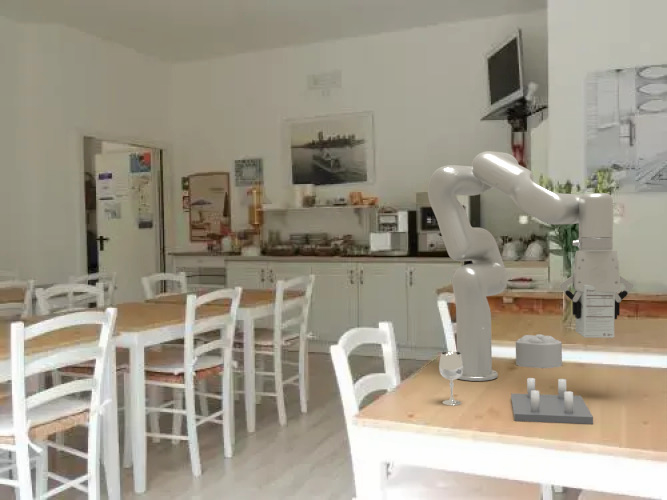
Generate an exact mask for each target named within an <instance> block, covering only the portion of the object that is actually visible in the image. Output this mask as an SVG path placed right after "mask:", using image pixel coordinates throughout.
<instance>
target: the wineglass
mask: <svg viewBox="0 0 667 500" xmlns="http://www.w3.org/2000/svg"><path fill="white" fill-rule="evenodd" d="M463 369H464V366H463V359H462V355H461V353H460V352H457V351H450V350H449V351H442V352H440V357H439V363H438V370H439V373H440V375H441V377H443V378H444V379H446V380H449V388H450V398H449V399H446V400H443V401H442V404H443V405H446V406H460V405H461V404H462V402H461V401H460V400H456V399H455V398H454V394H453V393H454V392H453V391H454V384H455V382H454V380H457V378H459V377H461V375H462V374H463Z"/></svg>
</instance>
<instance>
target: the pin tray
mask: <svg viewBox="0 0 667 500" xmlns="http://www.w3.org/2000/svg"><path fill="white" fill-rule="evenodd" d="M557 383H558V384H557V386H558V387H557V393H558V394H543V393H542V394H540V390H536V378H533V377H527V379H526V385H527V386H526V389H527V390H526V391H527V393H511V395H510V400H511V405H512V413H513V419H514V421H515V422H529V423H530V422H536V423H557V424H560V423H561V424H578V425H579V424H583V425H586V424H587V425H594V417H593V415H592V412H591V411H590V409H589V407H588V406H587V404H586V403H585V400H584V399H583V397H582V396H581V395H576V394H575V395H574V392H573V391H570V390H567V379H565V378H558V379H557Z"/></svg>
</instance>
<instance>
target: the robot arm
mask: <svg viewBox="0 0 667 500" xmlns="http://www.w3.org/2000/svg"><path fill="white" fill-rule="evenodd" d="M492 190H495V191H498V192H499V193H502V194H504V195H505V196H506V197H508V198H510V199H512V201H513V202H514V204H515V205H516V206H517V207H518V208H519V209H521V211H523V212H525V213H526V214H528V215H530V216H532V217H534V218H535V219H537V220H539V221H541V222H542V223H546V224H549V225H575V224H578V238H577V239H576V240H572V247H577V248H578V250H576V251H575V256H574V260H573V261H574V262H573V274H572V275H571V276H570V277H567V279H565V280H563V281H561V282H560V283H559V289H561V290H562V292H563V293H564V294H565V296H567V297H568V298H569V299H570V300H571V301H572V315H573V316H574V317H575V319H576V318H577V319H579V318H580V302H579V298H580V296H581V293H583V286H584V285H591V286H593V287H594V288H595V292H607V293H614V292H615V316H614V320H617V319H618V316H620V309H621V307H620V306H621V305H620V303H621V302H622V300H624V299H625V297H627V296H628V294H629V293H630V292H631V291H632V289H633V287H634V284H632V283H631V282H630V281H628V280H626V279H625V278H623V276H621V275H620V274H621V273H620V264H619V258H618V257H619V256H618V253H617V252H618V251H616V250H614V248H613V247H614V246H613V245H614V244H613V243H614V241H613V238H614V235H613V234H614V232H613V230H614V228H613V227H614V225H613V224H614V222H613V220H614V219H613V217H614V213H613V212H614V211H613V209H614V208H613V206H614V205H613V204H614V203H613V201H614V200H613V197H612V195H611V194H609V193H606V192H605V193H604V192H593V193H584V194H577V193H574V194H573V193H559V192H556V193H555V192H553V191H551V190H549V189H547V188H545V187H543V186H541V185H539V184H537V183H536V182H534V175H533V172H532V171H531V170H530V169H528V168H526V167H524V166H522V165H520V164H519V162H518V160H517V158H516V157H515V156H514V155H512V154H510V153H508V152H502V151H492V150H491V151H490V150H488V151H487V150H486V151H482V152H480V153H478V154H477V155H476V156H474V157H473V160H472V162H471V166H469V165H460V164H458V165H454V164H448V165H443V166H441V167H438V168H437V169H436V170H434V172H433V173H432V175H431V176H430V178H429V181H428V185H427V197H428V202H429V204H430V206H431V209H432V212H433V213H434V216H435V218H436V221H437V224H438V227H439V230H440V234H441V237H442V240H443V243H444V246H445V249H446V252H447V254H448V256H449V258H450V259H452V260H453V261H456V262H469V261H470V262H471V263H467V264H464V265H462V266H460V267H459V268H458V269H456V270H455V272H454V274H453V276H452V280H451V281H452V282H451V284H452V290H453V296H454V302H455V319H456V321H455V323H456V352H460V353H461V355H462V359H463V366H464V369H463V374H462V375H461V377H459V378H457V379H458V380H462V381H470V382H471V381H473V382H485V381H492V380H495V379H496V378H498V377H499V376H498V374H499V373H498V372H497V371H496V370H494V369H493V367H492V365H493V363H492V359H493V357H492V314H491V307H490V304H489V301H488V298H487V297H490V296H497V295H499V294H501V293H502V292H504V290H505V289H506V288H507V285H508V273H507V270H506V267H505V264H504V262H503V261H504V260H503V258H502V255H501V253H500V252H501V251H500V249H499V246H498V244H497V241H496V239H495V237H494V236H493V234H492V233H491V232H490V231H489V230H488V229H485V228H482V227H473V226H472V225H471V222H470V220H469V218H468V217H469V216H468V214H467V211H466V209H465V208H464V206H463V205H462V204H461V202H460V201H459V200H458V198H457V196H468V197H469V196H471V197H472V196H478V195H481V194H484V193H487V192H488V191H492ZM571 284H572V287H573V289H574V293H573V292H571V291H570V290H569V288H568V286H569V285H571ZM621 285H623V289H622V290H621V291H620V289H621ZM619 291H620V292H619ZM618 292H619V293H618ZM457 379H456V380H457Z"/></svg>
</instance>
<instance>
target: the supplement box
mask: <svg viewBox="0 0 667 500" xmlns="http://www.w3.org/2000/svg"><path fill="white" fill-rule="evenodd" d="M579 302H580V318H579V319H577V318H575V332H576V333H578V334H579V335H580V336H582V337H583V338H588V339H589V338H596V339H599V338H600V339H601V338H603V339H605V338H606V339H612V338H615V319H614V316H615V292H614V293H607V292H595V288H594V287H593V286H591V285H584V286H583V293H581V296H580V298H579Z"/></svg>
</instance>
